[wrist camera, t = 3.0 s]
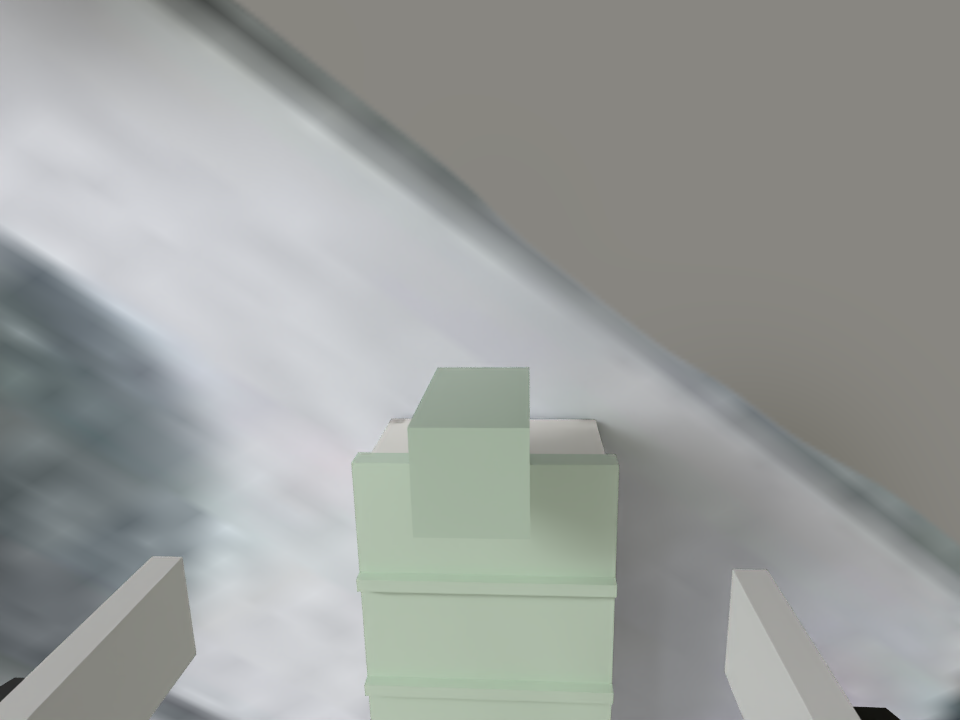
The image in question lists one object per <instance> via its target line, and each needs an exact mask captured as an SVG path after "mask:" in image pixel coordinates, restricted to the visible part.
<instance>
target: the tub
mask: <svg viewBox="0 0 960 720" xmlns="http://www.w3.org/2000/svg"><path fill="white" fill-rule="evenodd" d="M410 421H411V419H391V420H390V422H389V424H388V425H387V427H386V429H385V430H384V432H383V434H382V435H381V437H380V439H379V441H378V442H377V444H376V446H375V447H374V449H373V451H372V452H371V453H409V450H408V431H407V427H408V425H409V423H410ZM530 454H605V451H604V448H603V444H602V441H601V437H600V434H599V430H598V427H597V423H596V420H595V419H530Z"/></svg>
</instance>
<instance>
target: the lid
mask: <svg viewBox="0 0 960 720" xmlns="http://www.w3.org/2000/svg"><path fill="white" fill-rule="evenodd" d="M407 431H408V450H409V453H358V454H357V455H356V457H355V458H354V460H353V461H352V463H351V464H352V478H353V491H354V504H355V518H356V531H357V544H358V557H359V571H360V573H359V575H358V577H357V579H356V582H357V592H361V597H362V610H363V624H364V637H365V650H366V664H367V679H366V682H365V685H364V686H365V696H369V703H370V717H371V720H611V704H613V687H612V665H613V635H614V605H615V597H617V583H616V578H615V575H616V544H617V514H618V484H619V463H618V460H617V457H616V454H530V408H529V367H511V368H437V370H436V372H435V374H434V376H433V378H432V380H431V382H430V384H429V386H428V388H427V390H426V392H425V394H424V396H423V397H422V399H421V401H420V403H419V405H418V407H417V409H416V411H415V413H414V415H413V417H412V419H411V421H410V423H409V425H408V427H407Z"/></svg>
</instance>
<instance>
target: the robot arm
mask: <svg viewBox="0 0 960 720" xmlns="http://www.w3.org/2000/svg"><path fill="white" fill-rule="evenodd" d="M195 655H196V648H195V641H194V634H193V627H192V620H191V614H190V607H189V600H188V593H187V586H186V579H185V572H184V565H183V558H182V557H158V556H152V557H151V558H150V559H149V560H148V561H147V562H146V563H145V564H144V565H143V566H142V567H141V568H140V569H139V570H138V571H137V572H136V573H135V574H133V575H132V576H131V577H130V578H129V579H128V580H127V581H126V582H125V583H124V584H123V585H122V586H121V587H120V588H119V589H118V590H117V591H116V592H115V593H114V594H113V595H112V596H111V597H109V598H108V599H107V600H106V601H105V602H104V603H103V604H102V605H101V606H100V607H99V608H98V609H97V610H96V611H95V612H94V613H93V614H92V615H91V616H90V617H89V618H88V619H87V620H85V621H84V622H83V623H82V624H81V625H80V626H79V627H78V628H77V629H76V630H75V631H74V632H73V633H72V634H71V635H70V636H69V637H68V638H67V639H66V640H65V641H64V642H63V643H61V644H60V645H59V646H58V647H57V648H56V649H55V650H54V651H53V652H52V653H51V654H50V655H49V656H48V657H47V658H46V659H45V660H44V661H43V662H42V663H41V664H40V665H39V666H37V667H36V668H35V669H34V670H33V671H32V672H31V673H30V674H29V675H28V676H27V677H26V678H13V679H12V680H10V681H8V682H7V683H5V684H4V685H2V686H0V720H149V719H150V717H151V716H152V715H153V713H154V712H155V710H156V709H157V708H158V706H159V705H160V704H161V702H162V701H163V699H164V698H165V697H166V695H167V694H168V693H169V691H170V690H171V688H172V687H173V686H174V684H175V683H176V682H177V680H178V679H179V677H180V676H181V675H182V673H183V672H184V671H185V669H186V668H187V666H188V665H189V664H190V662H191V661H192V660H193V658H194V657H195ZM725 674H726V677H727V679H728V682H729V684H730V687H731V689H732V692H733V694H734V697H735V699H736V702H737V704H738V706H739V709H740V711H741V714H742V716H743V719H744V720H900V719H899V718H898V717H896V716H895V715H894V714H893V713H891V712H890V711H889V710H888V709H887V708H875V707H853V706H852V705H851V703H850V701H849V700H848V698H847V697H846V695H845V693H844V692H843V690H842V689H841V687H840V685H839V684H838V682H837V681H836V679H835V677H834V676H833V674H832V673H831V671H830V669H829V668H828V666H827V665H826V663H825V661H824V660H823V658H822V657H821V655H820V653H819V652H818V650H817V649H816V647H815V645H814V644H813V642H812V641H811V639H810V637H809V636H808V634H807V633H806V631H805V629H804V628H803V626H802V625H801V623H800V621H799V620H798V618H797V617H796V615H795V613H794V612H793V610H792V609H791V607H790V605H789V604H788V602H787V601H786V599H785V598H784V596H783V594H782V593H781V591H780V590H779V588H778V586H777V585H776V583H775V582H774V580H773V578H772V577H771V575H770V574H769V572H768V570H761V569H733V571H732V584H731V596H730V609H729V622H728V634H727V647H726V659H725Z"/></svg>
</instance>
